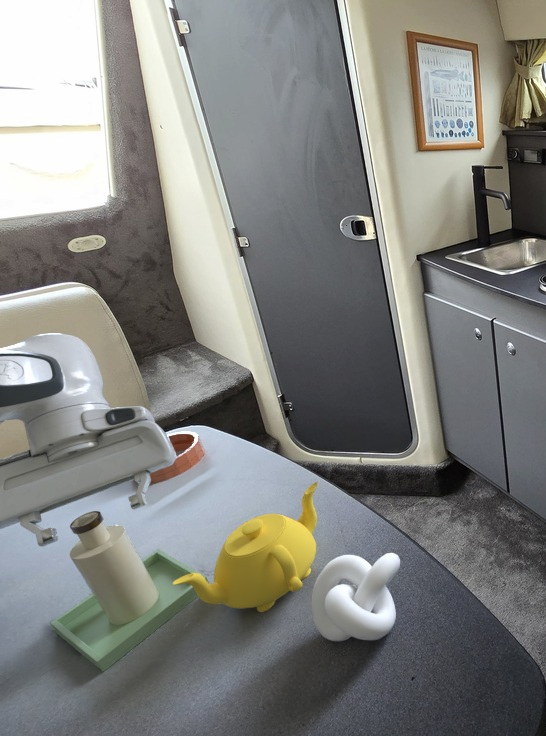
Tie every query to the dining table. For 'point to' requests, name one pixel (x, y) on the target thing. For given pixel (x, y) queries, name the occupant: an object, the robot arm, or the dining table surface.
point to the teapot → (261, 560)
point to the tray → (112, 642)
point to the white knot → (355, 598)
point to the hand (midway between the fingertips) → (95, 524)
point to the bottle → (112, 569)
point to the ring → (180, 456)
